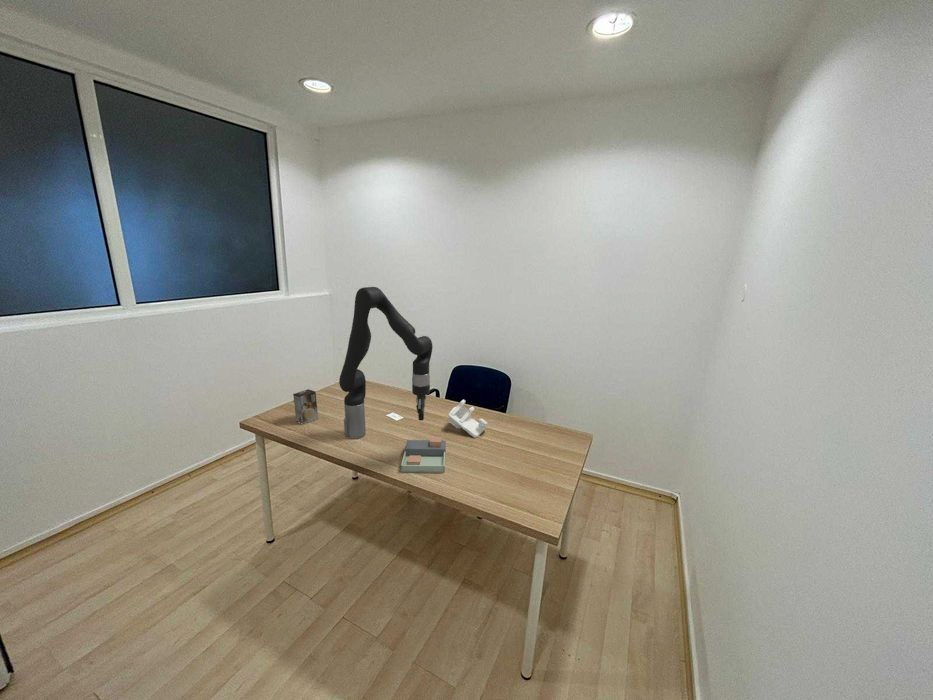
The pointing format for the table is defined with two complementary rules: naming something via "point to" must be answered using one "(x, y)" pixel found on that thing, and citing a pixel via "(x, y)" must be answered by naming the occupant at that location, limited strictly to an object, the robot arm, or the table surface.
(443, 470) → the tray
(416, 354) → the robot arm
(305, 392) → the coffee box
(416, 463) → the tile left
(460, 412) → the tape dispenser
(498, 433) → the table surface
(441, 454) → the grey flat block
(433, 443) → the tile right
